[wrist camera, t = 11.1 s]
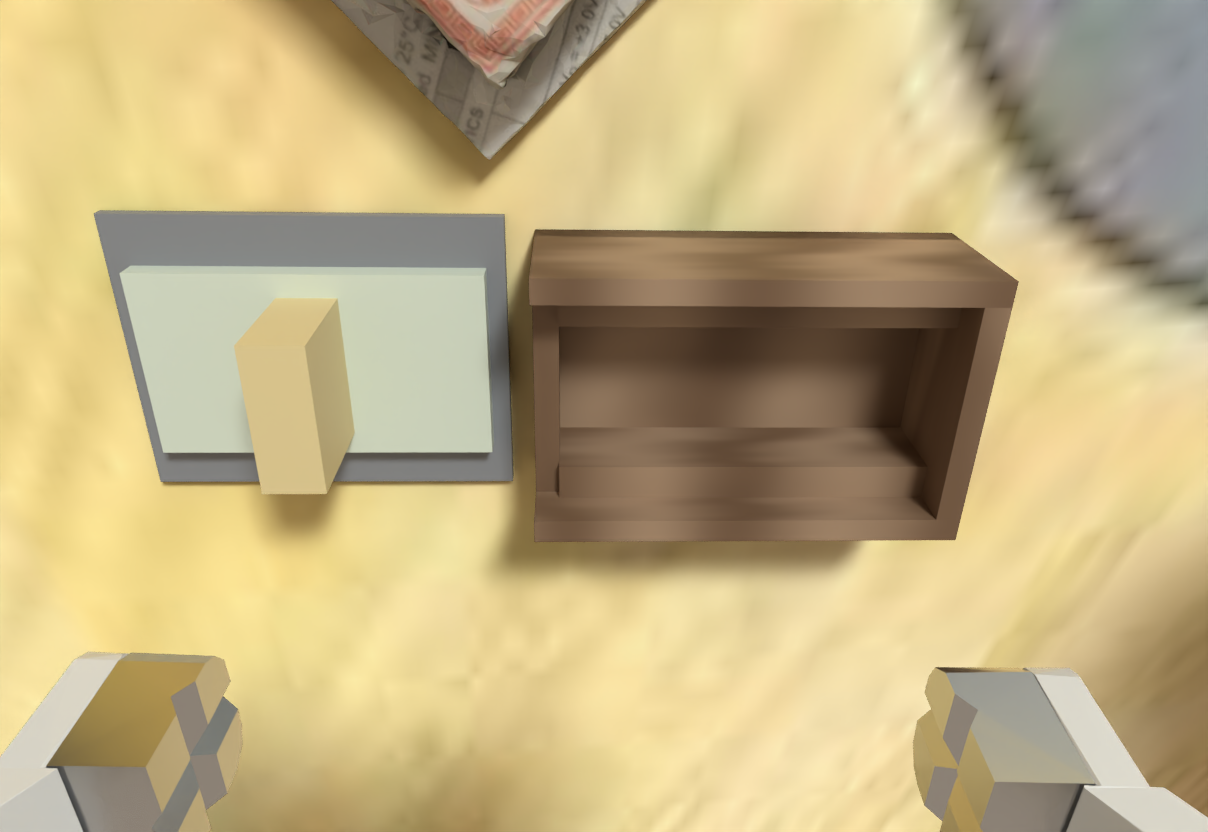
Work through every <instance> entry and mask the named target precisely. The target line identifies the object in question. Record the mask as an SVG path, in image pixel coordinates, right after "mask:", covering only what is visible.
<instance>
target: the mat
mask: <svg viewBox="0 0 1208 832" xmlns="http://www.w3.org/2000/svg"><path fill="white" fill-rule="evenodd" d="M94 217H95V221H96V225H97V229H98V233H99V237H100V241H101V245H102V249H103V253H104V257H105V261H106V265H107V269H108V273H109V277H110V281H111V285H112V289H113V293H114V297H115V301H116V305H117V309H118V313H119V317H120V321H121V325H122V329H123V333H124V337H125V341H126V345H127V349H128V353H129V357H130V361H131V365H132V368H133V372H134V376H135V380H136V384H137V388H138V392H139V396H140V400H141V404H142V408H143V412H144V416H145V420H146V424H147V428H148V432H149V436H150V440H151V444H152V448H153V452H154V456H155V460H156V464H157V468H158V472H159V476H160V480H161V482H243V481H259V476H258V470H257V465H256V460H255V455H254V453H163V449H162V445H161V441H160V437H159V433H158V429H157V425H156V421H155V417H154V412H153V408H152V404H151V400H150V396H149V392H148V388H147V384H146V380H145V376H144V372H143V368H142V363H141V359H140V355H139V351H138V347H137V343H136V339H135V335H134V331H133V327H132V323H131V319H130V314H129V310H128V306H127V302H126V298H125V294H124V290H123V286H122V282H121V278H120V274H119V273H121V272H122V271H124V270H125V269H126V268H128V267H129V266H262V267H409V268H486V275H487V297H488V319H489V341H490V363H491V385H492V407H493V429H494V445H493V451H492V452H365V453H345V455H344V458H343V460H342V462H341V464H340V466H339V469H338V471H337V473H336V475H335V477H334V480H333V481H513V449H512V420H511V391H510V362H509V333H508V304H507V275H506V245H505V216H504V214H422V213H315V212H208V211H101V210H100V211H98V212H96V213H94Z"/></svg>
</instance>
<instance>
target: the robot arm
mask: <svg viewBox="0 0 1208 832" xmlns="http://www.w3.org/2000/svg"><path fill="white" fill-rule="evenodd" d="M230 681H231V680H230V677H229V674H228V671H227V668H226V665H225V661H224V659H221V658H218V657H216V656H199V655H175V654H150V653H130V654H126V653H104V652H87V653H85V654H83V655H81V656H80V657H78V658H76V659H75V660H74V661H73V662H72V663H71V664H70V665H69V667H68V668H67V669H66V671H65V672H64V673H63V675H62V676H61V677H60V679H59V680H58V681H57V683H56V684H55V685H54V687H53V688H52V689H51V690H50V692H49V693H48V694H47V696H46V697H45V698H44V700H43V701H42V702H41V704H40V705H39V706H38V708H37V709H36V710H35V712H34V713H33V714H32V716H31V717H30V718H29V719H28V721H27V722H26V723H25V725H24V726H23V727H22V729H21V730H20V731H19V733H18V734H17V735H16V737H15V738H14V739H13V741H12V742H11V743H10V744H9V746H8V747H7V748H6V750H5V751H4V752H3V754H2V755H1V756H0V832H210V830H211V825H210V822H209V819H208V815H207V812H206V810H207V809H208V808H209V807H210V806H212V805H213V804H214V803H215V802H217V801H218V800H219V799H221V798H222V797H223V796H224V795H226V794H227V793H228V790H229V788H230V786H231V783H232V781H233V779H234V776H235V774H236V772H237V768H238V763H239V758H240V753H241V748H242V724H241V720H240V715H239V711H238V709H237V708H236V707H235V706H234V705H233V704H231V703H230V702H229V701H228V700H227V699H225V698H224V697H223V695H224V693H225V691H226V689H227V687H228V685H229V683H230ZM925 695H926V697H927V700H928V702H929V705H930V707H931V710H930V711H928V712H927V713H926V714H925V715H924V716H922V717H921V718H920V719H919V720H918V721H917V726H916V730H915V735H914V740H913V757H914V770H915V775H916V780H917V785H918V788H919V791H920V794H921V797H922V800H923V803H924V805H925V806H926V807H927V808H928V809H929V810H930V811H931V812H933V813H934V814H935V815H936V816H937V817H938V818H939V819H940V820H942V821H943V822H942V825H941V829H940V832H1208V817H1206V816H1205V815H1203V814H1202V813H1201V812H1199V811H1198V810H1196V809H1195V808H1193V807H1192V806H1190V805H1189V804H1188V803H1186V802H1185V801H1183V800H1182V799H1180V798H1179V797H1177V796H1176V795H1174V794H1173V793H1172V792H1170V791H1169V790H1167V789H1166V788H1164V787H1150V786H1149V784H1148V783H1147V781H1146V780H1145V778H1144V776H1143V775H1142V773H1141V772H1140V770H1139V769H1138V767H1137V765H1136V764H1135V762H1134V761H1133V759H1132V758H1131V756H1130V755H1129V753H1128V751H1127V750H1126V748H1125V747H1124V745H1123V744H1122V742H1121V740H1120V739H1119V737H1118V736H1117V734H1116V733H1115V731H1114V730H1113V728H1112V726H1111V725H1110V723H1109V722H1108V720H1107V719H1106V717H1105V715H1104V714H1103V712H1102V711H1101V709H1100V708H1099V706H1098V705H1097V703H1096V701H1095V700H1094V698H1093V697H1092V695H1091V694H1090V692H1089V690H1088V689H1087V687H1086V686H1085V684H1084V683H1083V681H1082V680H1081V678H1080V676H1079V675H1078V674H1077V673H1075V672H1074V671H1073V670H1071V669H1070V668H1023V669H1020V668H950V667H935V669H934V670H933V671H932V673H931V674H930V675H929V678H928V682H927V685H926V689H925Z"/></svg>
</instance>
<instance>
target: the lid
mask: <svg viewBox="0 0 1208 832" xmlns="http://www.w3.org/2000/svg"><path fill="white" fill-rule="evenodd" d="M119 274H120V278H121V282H122V286H123V290H124V294H125V298H126V302H127V306H128V310H129V314H130V319H131V323H132V327H133V331H134V335H135V339H136V343H137V347H138V351H139V355H140V359H141V363H142V368H143V372H144V376H145V380H146V384H147V388H148V392H149V396H150V400H151V404H152V408H153V412H154V417H155V421H156V425H157V429H158V433H159V437H160V441H161V445H162V449H163V453H254V455H255V460H256V465H257V470H258V476H259V481H260V486H261V491H262V494H327V493H328V491H329V488H330V486H331V484H332V482H333V480H334V477H335V475H336V473H337V471H338V469H339V466H340V464H341V462H342V460H343V458H344V455H345V453H365V452H492V451H493V445H494V429H493V407H492V385H491V363H490V341H489V319H488V297H487V275H486V268H409V267H262V266H129V267H128V268H126V269H125V270H124V271H122V272H121V273H119Z"/></svg>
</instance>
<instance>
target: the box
mask: <svg viewBox="0 0 1208 832" xmlns="http://www.w3.org/2000/svg"><path fill="white" fill-rule="evenodd" d="M1017 286H1018V281H1017V280H1016V279H1014V278H1013V277H1012V276H1010V275H1009V274H1007V273H1006V272H1005V271H1003V270H1002V269H1001V268H999V267H998V266H996V265H995V264H994V263H992V262H991V261H990V260H988V259H987V258H985V257H984V256H983V255H981V254H980V253H979V252H977V251H976V250H974V249H973V248H972V247H970V246H969V245H967V244H966V243H965V242H963V241H962V240H961V239H959V238H958V237H956V236H955V235H954V234H952V233H874V232H759V231H645V230H535V235H534V243H533V251H532V258H531V266H530V273H529V305H532V313H533V361H534V410H535V459H536V502H535V517H534V534H535V542H609V541H832V540H955V539H956V535H957V531H958V527H959V523H960V519H961V515H962V511H963V507H964V502H965V498H966V494H967V490H968V486H969V482H970V478H971V474H972V470H973V466H974V462H975V458H976V453H977V449H978V445H979V441H980V437H981V433H982V429H983V425H984V421H985V417H986V413H987V409H988V404H989V400H990V396H991V392H992V388H993V384H994V380H995V376H996V372H997V368H998V364H999V360H1000V355H1001V351H1002V347H1003V343H1004V339H1005V335H1006V331H1007V327H1008V323H1009V319H1010V315H1011V311H1012V306H1013V302H1014V298H1015V294H1016V290H1017Z"/></svg>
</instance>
